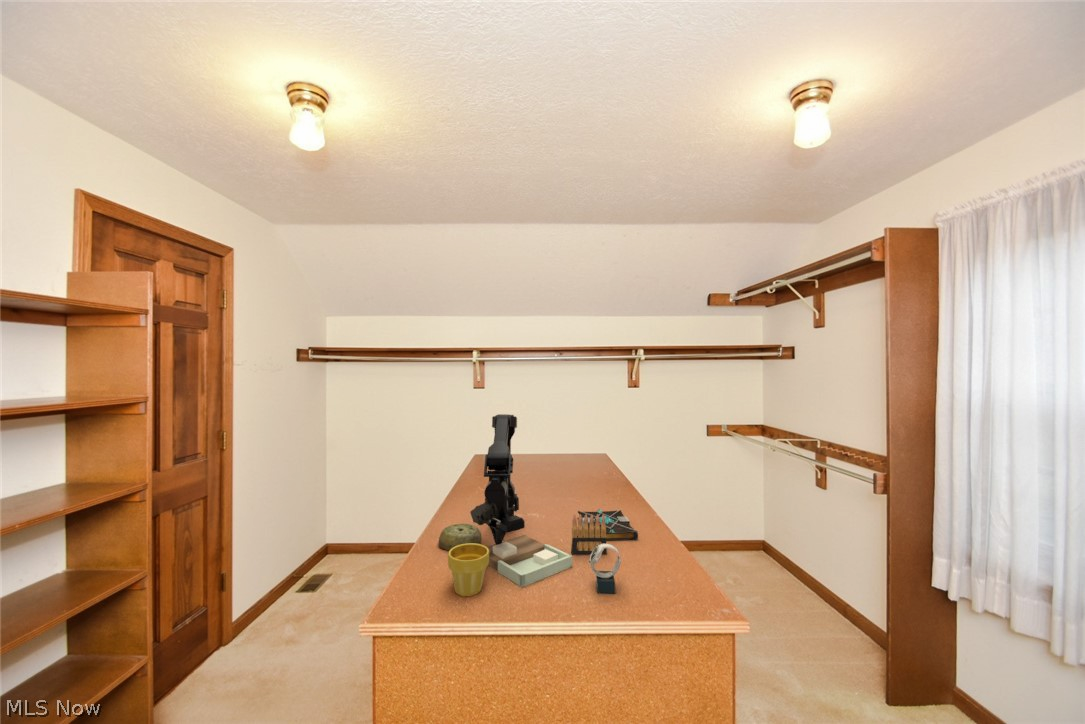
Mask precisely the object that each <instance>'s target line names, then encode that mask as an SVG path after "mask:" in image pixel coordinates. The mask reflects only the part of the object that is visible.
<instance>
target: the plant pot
mask: <svg viewBox="0 0 1085 724" xmlns="http://www.w3.org/2000/svg"><path fill="white" fill-rule="evenodd" d="M487 547H488V546H485V545H484V544H481V543H480V544H476V543H468V544H461V545H458V546H455V547H453V548H452V549H451V550H450V551H449V550H448V553H447V564H448V568H449V570H450V571H451V576H452V582H453V586H454V592H455V593H456V594H457V595H459V596H461V597H462V596H463V597H471V596H475V595H477V594H478V593H480V592H481V591H482V588H483V587H482V586H483V582H484V578H485V573H486V568H487V567H489V566H488V564H489V549H488V548H487Z"/></svg>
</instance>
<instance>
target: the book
mask: <svg viewBox="0 0 1085 724" xmlns="http://www.w3.org/2000/svg"><path fill="white" fill-rule="evenodd" d="M577 514H578V516H577V517H576V520H578V519H579V515H580V514H581V516H582V526H583V528H584V518H585V514H587V518H588V528H589V526H590V516H591V514H592V515H593V520H594V536H595V524H596V516H597V514H598V515H599V522H600V536H601V521H602V515H603V514H604V516H605V524H606V541H619V540H620V541H639V534H638V530H636V529H634V527H632V526H631V524H630V523H631V522H630V520H629V518H628V517H627V516H624V514H623V511H622V509H621V508H620V509H618V510H607V511H602V510H601V509H600V508H598V509H597V510H596V511H581V510H579V509H578V510H577Z"/></svg>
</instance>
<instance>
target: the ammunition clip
mask: <svg viewBox="0 0 1085 724" xmlns="http://www.w3.org/2000/svg"><path fill="white" fill-rule="evenodd" d="M578 517H579V519H577V515H576V514H575V513H574V514H573V516H572V527H571V551H570V553H571V554H570V555H571V556H590V555H591V553H592V551H593V549H594V548H595V547H596V546H597V545H600V544H604V543H605V544H607V540H606V524H605V516H604V514H603V515H602V521H601V536H600V522H599V515H598V514H597V516H596V524H595V536H594V520H593V515H592V514H591V516H590V526H589V528H588V518H587V514H585V518H584V528H583V526H582V516H581V514H580V515H579V514H578ZM577 522H578V523H577ZM607 555H608V548H604V550H603V551H602V555H601V556H607Z"/></svg>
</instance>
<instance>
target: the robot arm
mask: <svg viewBox="0 0 1085 724" xmlns="http://www.w3.org/2000/svg"><path fill="white" fill-rule="evenodd" d="M491 422H492V424H491V428H492V429H494V438H493V443H492V444H491V445H490V446H489V447H488V450H487V454H485V457H484V465H483V466H484V469H483V477H484V478H488V482H487V484H486V487H485V489H484V492H483V493H484V502H483V503H481V504H478V505H476V506H475V507H474V508H473V509H472V510H470V516H471V518H472V522H473V523H474V524H475V523H476V524H477V525H478V526H484V525H487V526H488V527H489V528H490V531H491V535H492V537H493V541H494V544H496V545H498V544H501V543H502V542H504V539H505V537H506V534H507V533H513V532H515V531H519V530H524V529H525V528H526V527H525V524H526V523H525V520H524V518H523V517H521V516H519V515H516V514H515V512H517V511H519V510H520V500H519V499H520V498H519V496H518V494H517V493H516V487H515V486H514V484H513V483H512V480H511V479H512V478H511V477H512V474H513V471H514V457H513V456H512V453H511V452H512V451H511V449H512V446H511V445H512V438H513V436H514V434H516V433H515V432H516V429H517V427H518V417H517V416H515V415H514V414H504V413H503V414H501V413H500V414H496V415H494V416H492V417H491Z"/></svg>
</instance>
